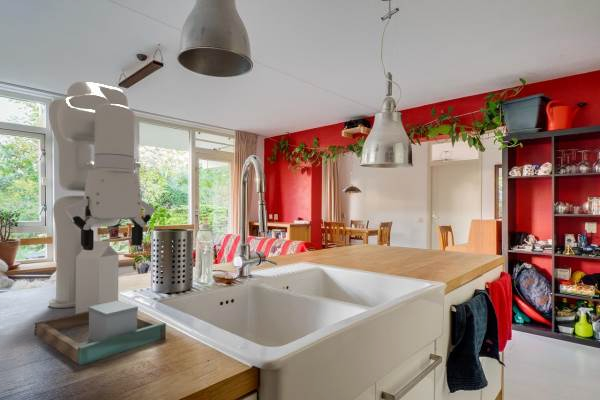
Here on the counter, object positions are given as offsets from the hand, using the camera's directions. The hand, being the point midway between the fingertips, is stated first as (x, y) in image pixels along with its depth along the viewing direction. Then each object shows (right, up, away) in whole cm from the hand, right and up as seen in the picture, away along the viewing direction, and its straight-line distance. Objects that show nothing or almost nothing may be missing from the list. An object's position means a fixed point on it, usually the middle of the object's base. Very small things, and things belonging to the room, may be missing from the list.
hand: (113, 247), depth 71 cm
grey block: (0, -19, -1) cm, 19 cm away
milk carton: (-16, -21, +21) cm, 33 cm away
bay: (-5, -20, +3) cm, 21 cm away
